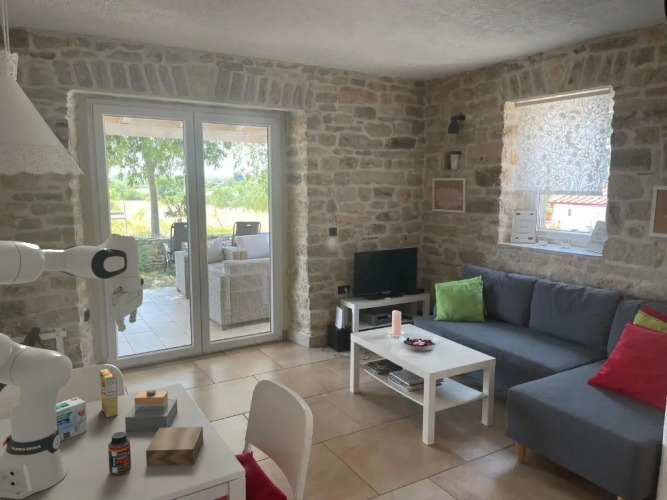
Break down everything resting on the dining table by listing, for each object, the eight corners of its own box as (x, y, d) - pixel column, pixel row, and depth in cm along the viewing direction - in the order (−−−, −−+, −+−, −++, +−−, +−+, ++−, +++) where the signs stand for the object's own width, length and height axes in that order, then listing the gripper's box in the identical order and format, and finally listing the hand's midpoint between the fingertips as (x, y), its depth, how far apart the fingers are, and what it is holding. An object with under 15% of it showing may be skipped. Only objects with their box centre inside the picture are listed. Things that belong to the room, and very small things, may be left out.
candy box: (101, 409, 184) (99, 370, 182) (113, 406, 187) (111, 367, 185) (106, 417, 177) (104, 377, 175) (119, 414, 180) (117, 375, 178)
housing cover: (167, 397, 177) (167, 388, 176) (163, 403, 172) (163, 394, 171) (139, 398, 176) (139, 389, 176) (134, 404, 171) (134, 395, 171)
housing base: (167, 404, 177) (167, 397, 177) (163, 410, 172) (163, 403, 172) (139, 404, 177) (139, 398, 176) (135, 411, 172) (134, 404, 171)
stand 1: (125, 431, 168) (125, 417, 167) (139, 412, 182) (138, 399, 181) (167, 429, 169) (166, 416, 168) (177, 411, 182) (176, 398, 182)
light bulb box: (55, 443, 159) (53, 412, 158) (46, 437, 163) (44, 407, 162) (88, 430, 168) (86, 401, 166) (78, 425, 172) (76, 396, 170)
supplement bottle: (117, 478, 140) (115, 442, 139) (105, 472, 143) (103, 436, 142) (135, 468, 145) (133, 433, 144) (123, 462, 148) (121, 427, 147)
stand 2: (146, 466, 147) (145, 450, 146) (160, 441, 161) (159, 427, 160) (193, 464, 148) (193, 449, 147) (203, 440, 162) (202, 426, 161)
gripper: (123, 291, 144) (125, 336, 146) (145, 278, 164) (147, 318, 166) (101, 291, 144) (104, 336, 146) (126, 278, 164) (128, 318, 166)
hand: (127, 326), depth 156 cm, fingers open, 8 cm apart
